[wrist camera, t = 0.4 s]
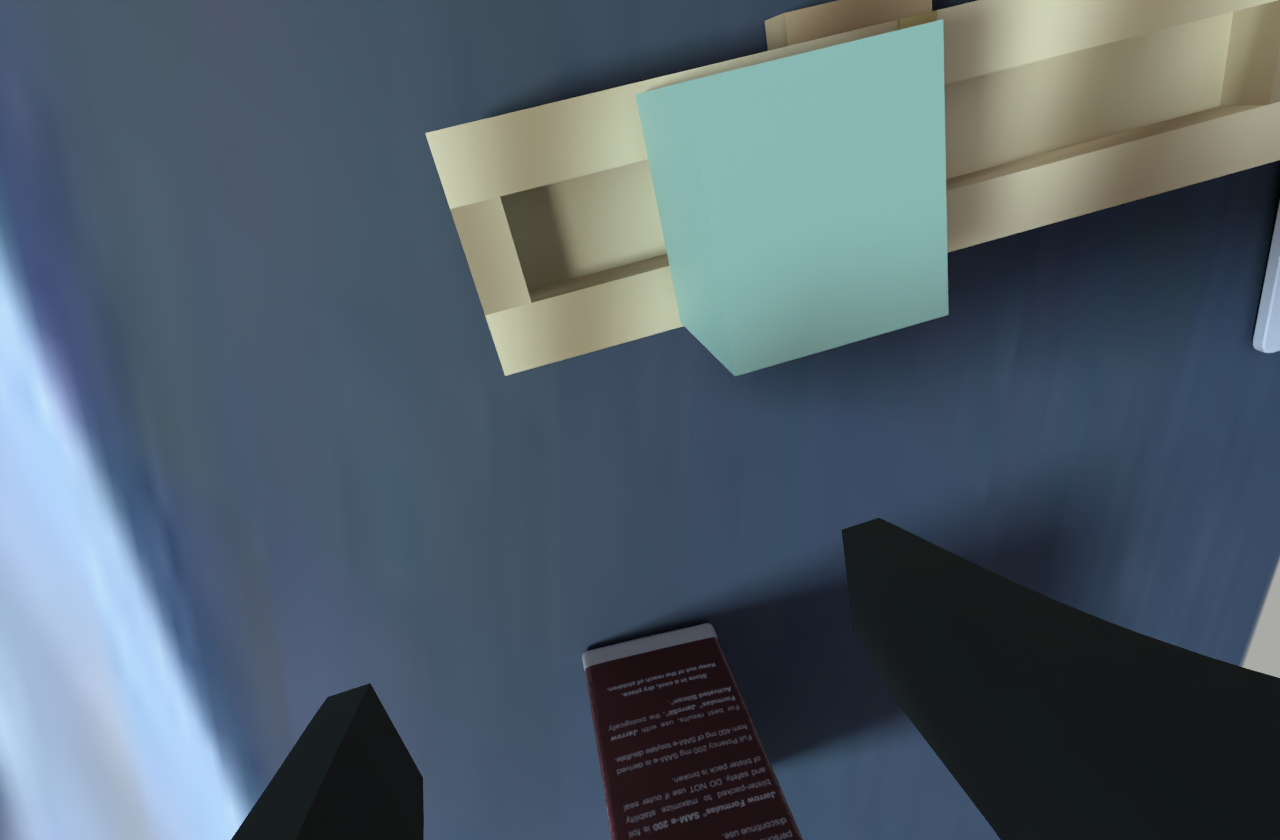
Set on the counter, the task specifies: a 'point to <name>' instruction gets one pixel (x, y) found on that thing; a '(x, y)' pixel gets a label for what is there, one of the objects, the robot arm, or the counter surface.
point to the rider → (805, 196)
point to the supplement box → (680, 743)
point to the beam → (974, 139)
